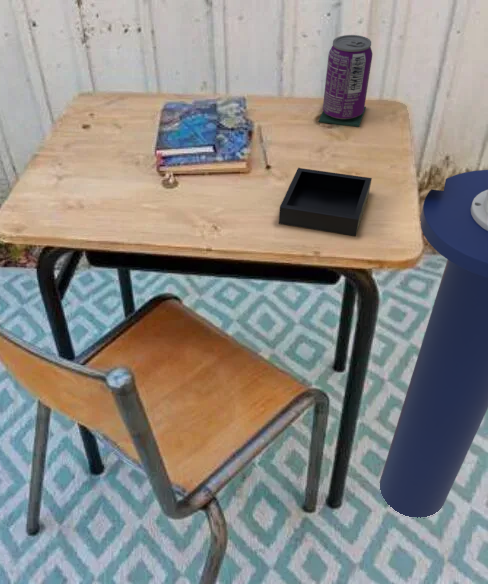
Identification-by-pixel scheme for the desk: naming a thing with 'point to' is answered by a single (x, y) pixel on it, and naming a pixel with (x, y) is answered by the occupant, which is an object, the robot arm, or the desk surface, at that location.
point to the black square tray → (325, 201)
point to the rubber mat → (348, 122)
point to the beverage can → (347, 77)
